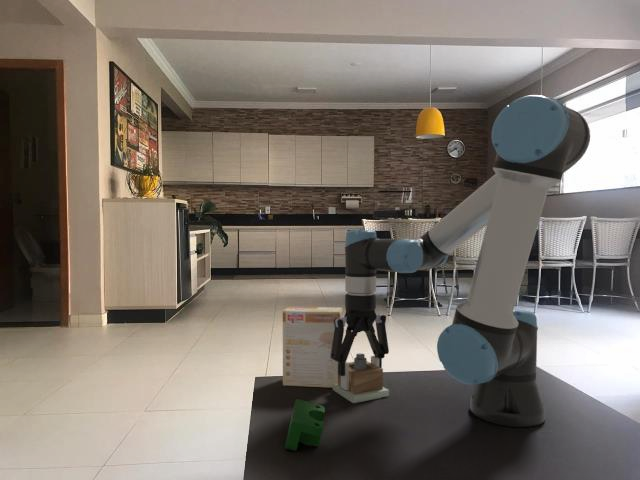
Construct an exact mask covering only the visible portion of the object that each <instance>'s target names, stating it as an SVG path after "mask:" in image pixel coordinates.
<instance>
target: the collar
mask: <svg viewBox="0 0 640 480" xmlns="http://www.w3.org/2000/svg"><path fill="white" fill-rule="evenodd" d="M348 363H349V390H348V391H349V392H351V393H353V394H360V393H365V392H371V391H376V390H381V389H383V387H384V386H383V385H384V384H383V382H384V370H383V369H384V368H380V367H378V366H376V365H374V364H372V363H371V361H368V360H367V369H364V370H358V371H356V370H354V361H352V362H351V361H350V362H348ZM338 385H340V386H341V376H340V375H339V374H338Z"/></svg>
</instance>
